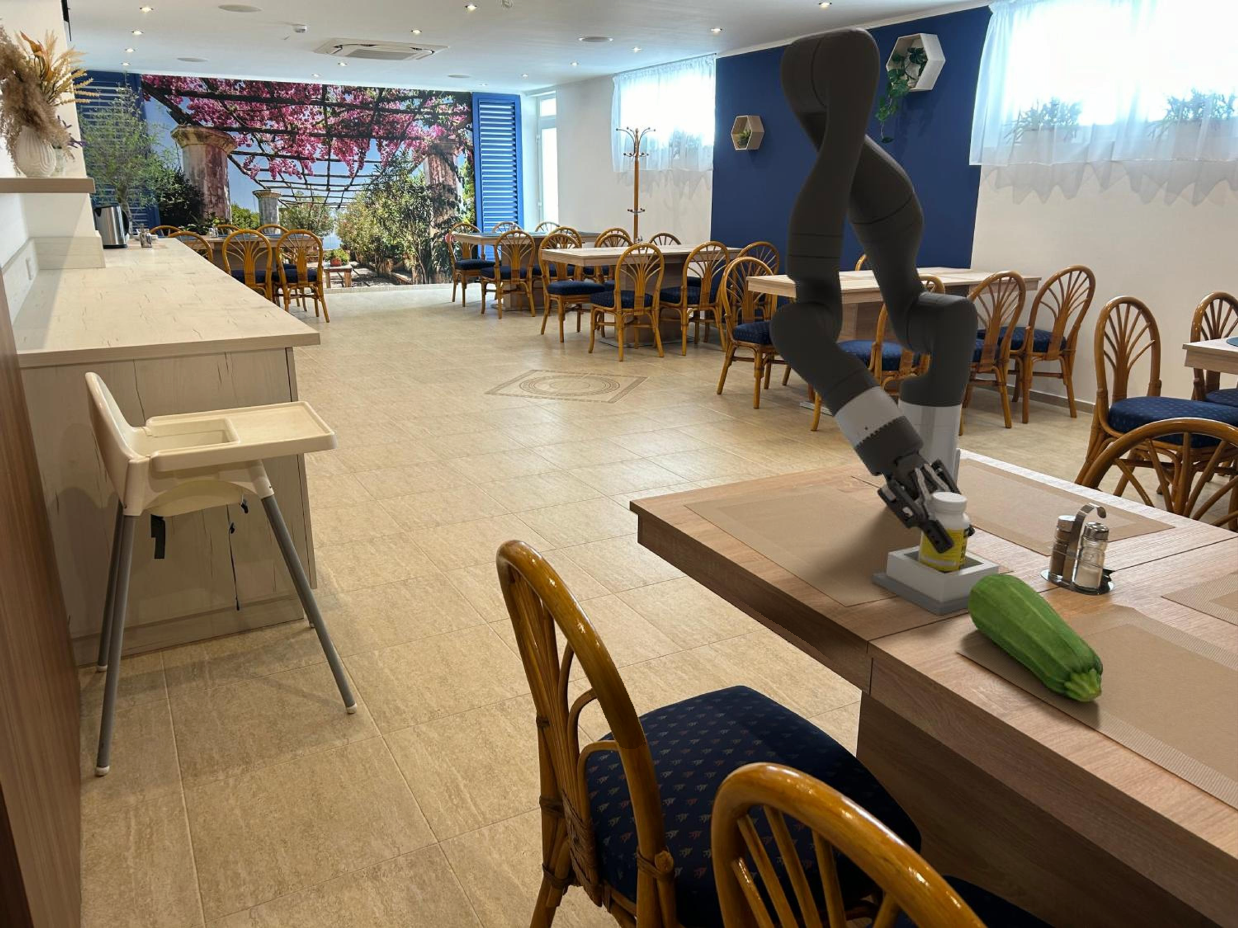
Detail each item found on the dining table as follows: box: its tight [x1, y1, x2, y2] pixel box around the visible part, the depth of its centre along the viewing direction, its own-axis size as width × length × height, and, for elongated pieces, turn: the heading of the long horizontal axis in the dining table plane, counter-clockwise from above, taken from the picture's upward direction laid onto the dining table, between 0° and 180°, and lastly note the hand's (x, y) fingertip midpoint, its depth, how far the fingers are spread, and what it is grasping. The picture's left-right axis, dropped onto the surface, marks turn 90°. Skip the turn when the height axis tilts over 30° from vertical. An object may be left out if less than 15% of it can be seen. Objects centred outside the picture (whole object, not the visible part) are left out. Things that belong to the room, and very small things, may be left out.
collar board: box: [871, 545, 1000, 616], centre depth 112 cm, size 12×11×4 cm
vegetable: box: [967, 573, 1104, 703], centre depth 94 cm, size 7×7×20 cm
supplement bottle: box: [918, 492, 971, 574], centre depth 111 cm, size 5×5×10 cm
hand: (958, 543), depth 110 cm, fingers closed on supplement bottle, 5 cm apart
